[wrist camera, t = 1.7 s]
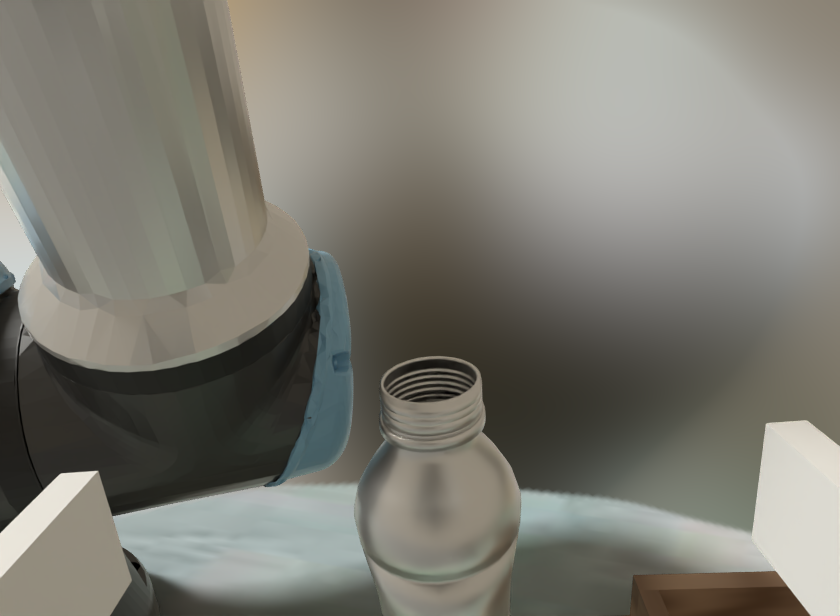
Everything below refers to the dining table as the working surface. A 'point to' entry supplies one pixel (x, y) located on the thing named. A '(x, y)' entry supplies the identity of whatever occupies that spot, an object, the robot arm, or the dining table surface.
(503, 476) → the plastic bottle
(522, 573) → the dining table surface
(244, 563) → the dining table surface
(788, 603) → the open wooden box
